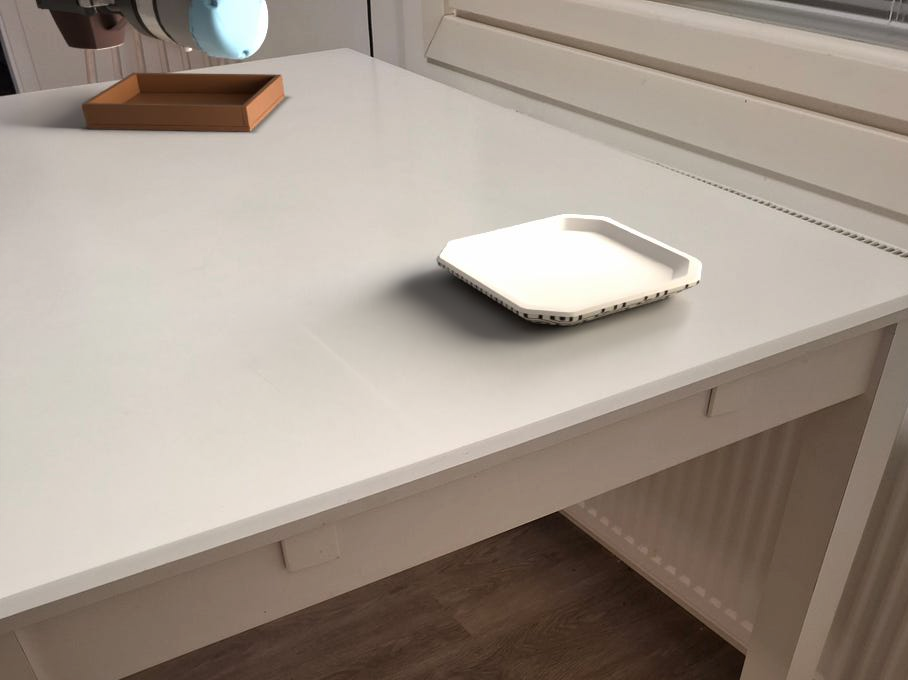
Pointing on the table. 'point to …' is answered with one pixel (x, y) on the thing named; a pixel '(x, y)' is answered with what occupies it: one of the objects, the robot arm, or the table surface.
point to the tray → (185, 102)
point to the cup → (91, 29)
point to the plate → (570, 268)
